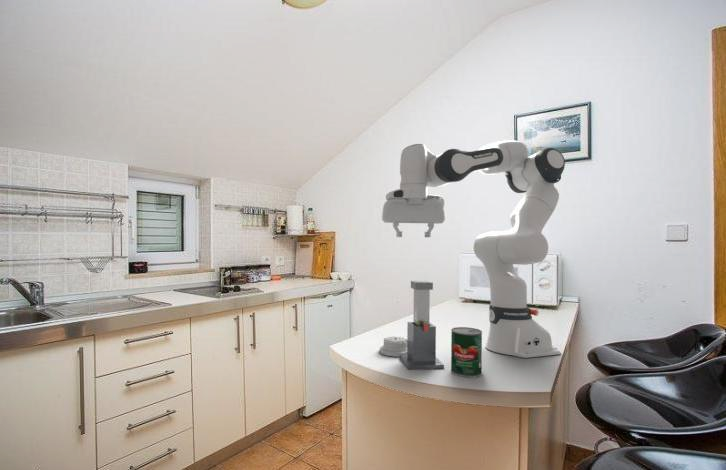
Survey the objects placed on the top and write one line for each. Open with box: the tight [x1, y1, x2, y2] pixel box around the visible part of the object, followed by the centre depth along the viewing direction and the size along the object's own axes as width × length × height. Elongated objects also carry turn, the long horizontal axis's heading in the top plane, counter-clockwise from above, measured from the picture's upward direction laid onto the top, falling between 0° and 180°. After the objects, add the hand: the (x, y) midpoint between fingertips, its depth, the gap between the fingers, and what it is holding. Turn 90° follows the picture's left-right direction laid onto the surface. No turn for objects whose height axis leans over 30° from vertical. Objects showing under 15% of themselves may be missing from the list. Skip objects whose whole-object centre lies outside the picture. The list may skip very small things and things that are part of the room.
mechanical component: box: [379, 336, 407, 358], centre depth 110 cm, size 10×4×10 cm
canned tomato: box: [450, 326, 483, 378], centre depth 93 cm, size 8×8×11 cm
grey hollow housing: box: [399, 321, 445, 371], centre depth 100 cm, size 10×10×12 cm
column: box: [410, 280, 434, 326], centre depth 100 cm, size 5×5×17 cm
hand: (413, 237), depth 113 cm, fingers open, 8 cm apart
